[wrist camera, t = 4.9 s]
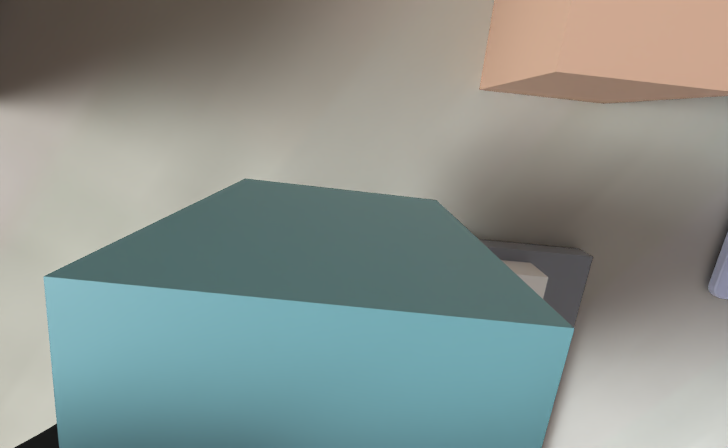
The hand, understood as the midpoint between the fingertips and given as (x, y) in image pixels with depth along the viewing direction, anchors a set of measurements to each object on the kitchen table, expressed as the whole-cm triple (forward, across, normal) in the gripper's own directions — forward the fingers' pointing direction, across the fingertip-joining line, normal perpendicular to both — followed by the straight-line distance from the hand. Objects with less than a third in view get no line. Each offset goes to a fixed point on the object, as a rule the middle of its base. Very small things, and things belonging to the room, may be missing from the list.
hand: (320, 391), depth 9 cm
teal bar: (+2, 0, 0) cm, 2 cm away
